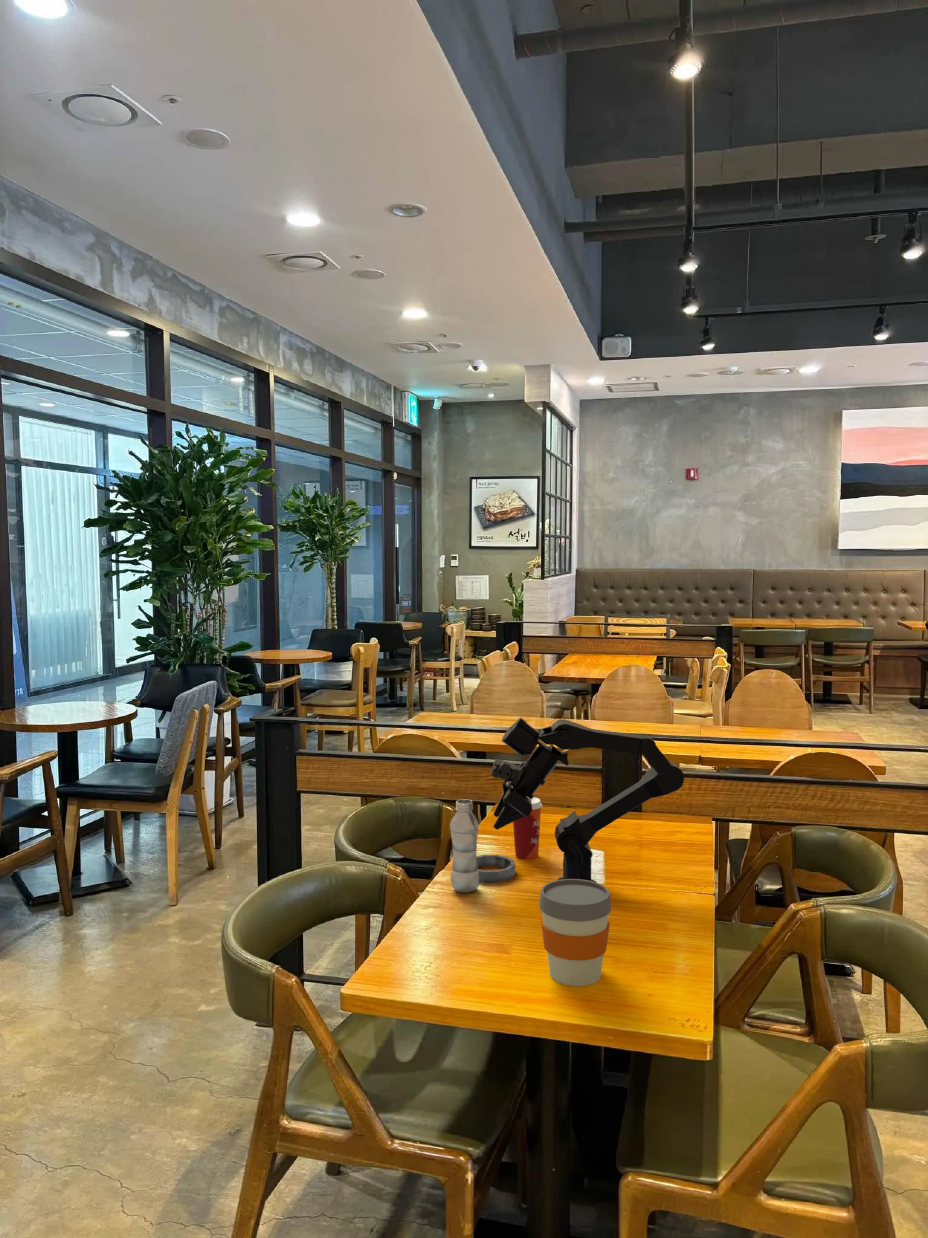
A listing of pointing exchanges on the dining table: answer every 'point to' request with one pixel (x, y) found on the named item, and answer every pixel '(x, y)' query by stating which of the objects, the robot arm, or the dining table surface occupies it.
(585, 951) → the reusable coffee cup
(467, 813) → the plastic bottle
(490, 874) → the collar
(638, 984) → the dining table surface
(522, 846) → the paper cup
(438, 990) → the dining table surface
